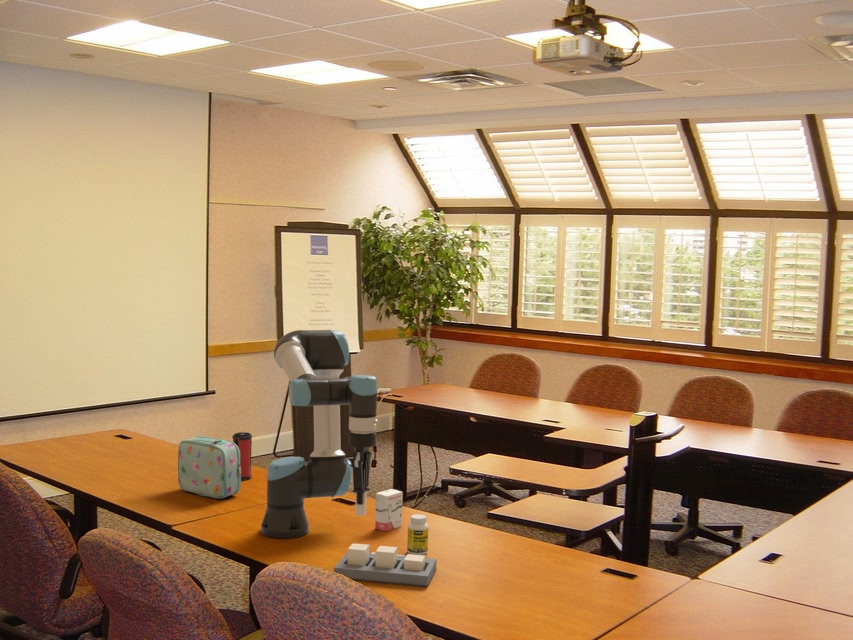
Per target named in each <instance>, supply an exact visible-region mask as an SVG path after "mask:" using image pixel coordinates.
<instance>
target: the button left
mask: <svg viewBox="0 0 853 640" xmlns="http://www.w3.org/2000/svg"><path fill="white" fill-rule="evenodd" d="M370 546H371V545H370V544H367V543H365V544H364V543H363V544H362V543H352V544H350V545H349V547H348V548H347V552H348V561H347V564H349V565H360V566H366V564H367V563H368V562H369V553H370Z"/></svg>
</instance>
